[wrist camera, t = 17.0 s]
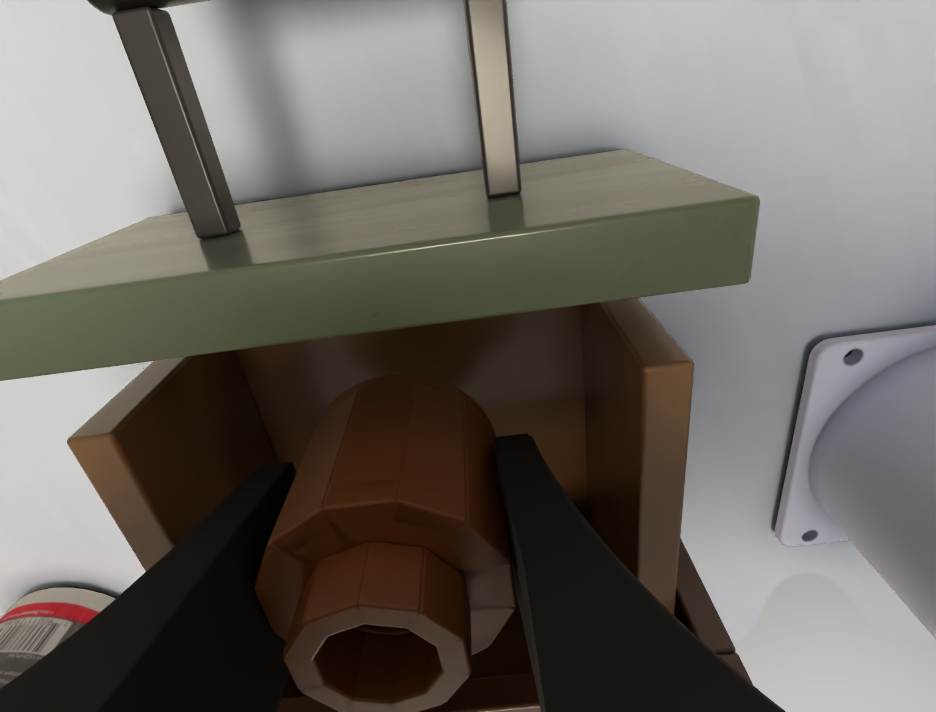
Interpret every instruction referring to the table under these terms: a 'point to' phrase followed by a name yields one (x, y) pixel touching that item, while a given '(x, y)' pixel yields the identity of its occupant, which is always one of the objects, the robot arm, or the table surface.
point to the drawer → (387, 315)
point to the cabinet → (515, 696)
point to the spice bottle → (390, 549)
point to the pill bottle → (43, 625)
